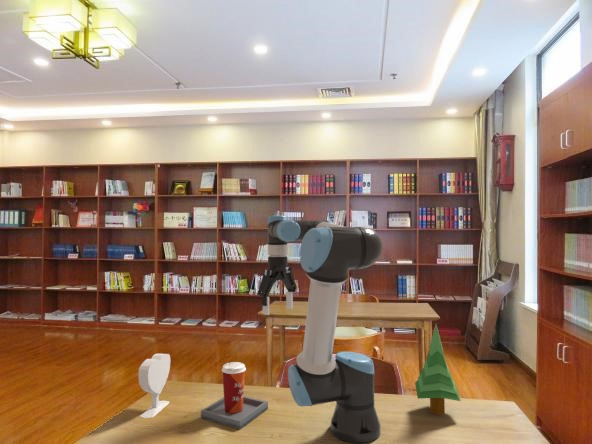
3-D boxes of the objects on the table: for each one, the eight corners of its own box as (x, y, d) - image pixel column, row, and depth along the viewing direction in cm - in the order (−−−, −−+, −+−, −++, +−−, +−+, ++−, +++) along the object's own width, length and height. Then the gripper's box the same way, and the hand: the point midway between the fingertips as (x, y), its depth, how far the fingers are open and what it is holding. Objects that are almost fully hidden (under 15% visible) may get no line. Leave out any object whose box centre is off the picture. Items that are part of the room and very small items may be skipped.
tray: (267, 408, 140) (267, 401, 140) (240, 429, 126) (240, 421, 126) (231, 399, 148) (230, 392, 148) (200, 418, 133) (200, 410, 134)
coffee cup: (240, 416, 132) (240, 370, 133) (217, 413, 134) (217, 368, 134) (249, 405, 140) (249, 362, 141) (227, 403, 142) (227, 360, 143)
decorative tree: (419, 420, 130) (418, 327, 131) (414, 400, 146) (412, 316, 146) (463, 424, 128) (462, 329, 128) (453, 402, 143) (452, 318, 144)
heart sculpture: (159, 399, 149) (159, 350, 149) (172, 399, 148) (172, 350, 148) (136, 418, 134) (136, 364, 134) (150, 419, 133) (150, 364, 133)
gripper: (290, 253, 167) (291, 305, 167) (247, 257, 147) (247, 315, 147) (305, 254, 162) (305, 307, 162) (262, 258, 143) (262, 318, 142)
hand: (278, 311), depth 154 cm, fingers open, 13 cm apart
